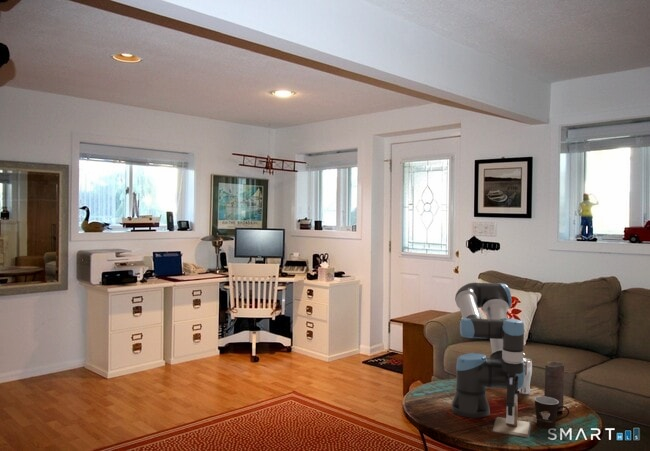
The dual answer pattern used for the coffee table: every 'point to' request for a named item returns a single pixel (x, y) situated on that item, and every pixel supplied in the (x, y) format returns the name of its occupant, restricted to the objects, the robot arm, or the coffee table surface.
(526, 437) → the mat
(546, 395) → the dark brown log
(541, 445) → the coffee table surface
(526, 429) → the cover
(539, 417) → the coffee mug
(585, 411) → the coffee table surface
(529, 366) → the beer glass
